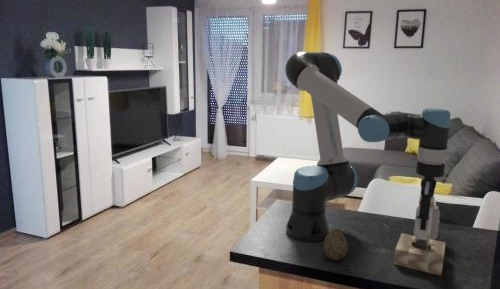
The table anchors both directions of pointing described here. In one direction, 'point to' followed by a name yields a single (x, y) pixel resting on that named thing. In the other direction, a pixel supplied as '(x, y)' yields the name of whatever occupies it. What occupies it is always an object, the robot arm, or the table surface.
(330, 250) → the decorative egg
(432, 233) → the can
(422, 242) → the tube
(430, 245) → the collar
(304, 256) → the table surface
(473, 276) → the table surface
